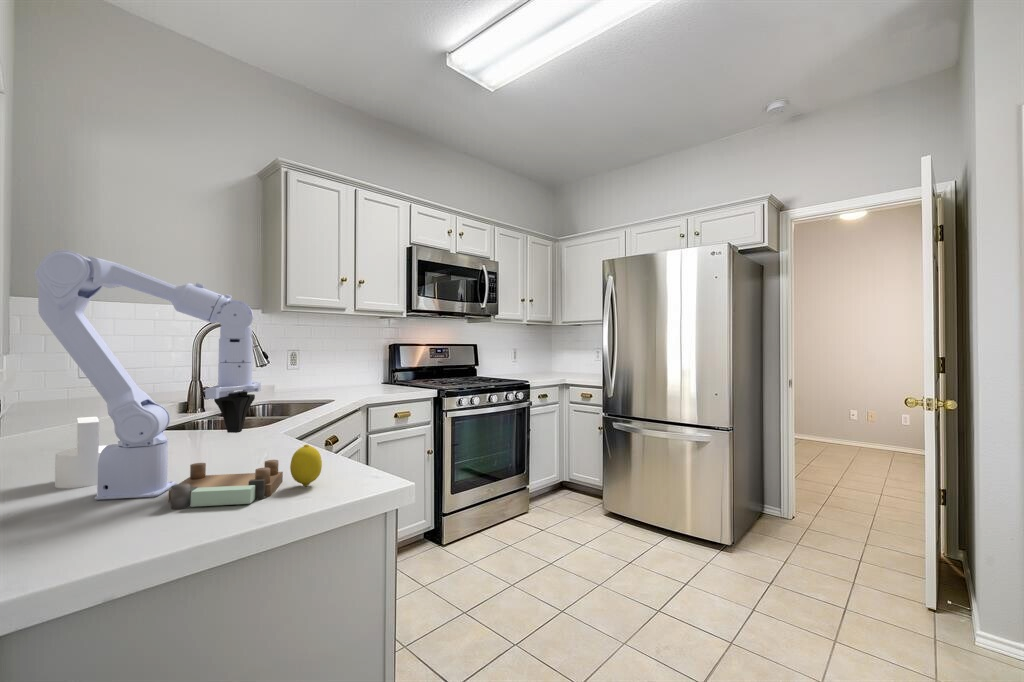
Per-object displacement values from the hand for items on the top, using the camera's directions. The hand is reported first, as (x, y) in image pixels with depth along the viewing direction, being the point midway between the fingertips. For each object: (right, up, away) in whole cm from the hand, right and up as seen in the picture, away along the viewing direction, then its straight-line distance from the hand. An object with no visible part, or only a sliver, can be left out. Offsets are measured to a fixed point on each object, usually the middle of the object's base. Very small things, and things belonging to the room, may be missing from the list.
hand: (234, 432), depth 92 cm
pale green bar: (+5, -10, -12) cm, 17 cm away
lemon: (+15, -10, -2) cm, 18 cm away
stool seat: (+3, -10, -7) cm, 13 cm away
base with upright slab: (-29, -10, 0) cm, 31 cm away
